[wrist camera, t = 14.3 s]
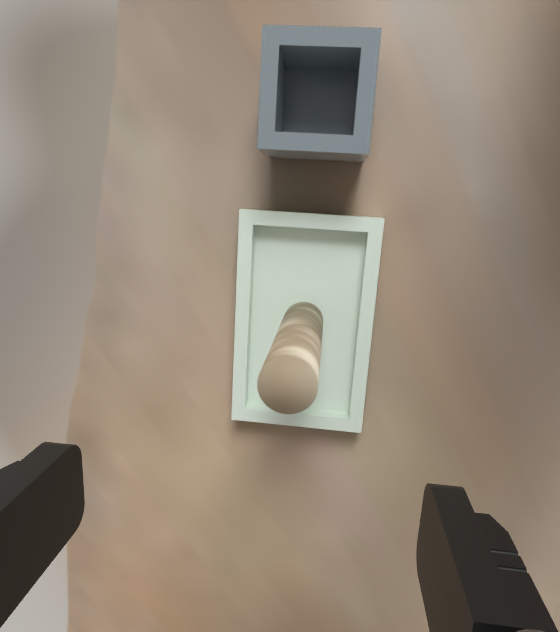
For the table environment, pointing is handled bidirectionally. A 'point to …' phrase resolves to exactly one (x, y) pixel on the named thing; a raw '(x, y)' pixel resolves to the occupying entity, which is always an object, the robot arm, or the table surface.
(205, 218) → the table surface
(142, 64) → the table surface
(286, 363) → the dowel
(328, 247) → the sage tray
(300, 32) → the slate box
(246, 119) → the table surface
